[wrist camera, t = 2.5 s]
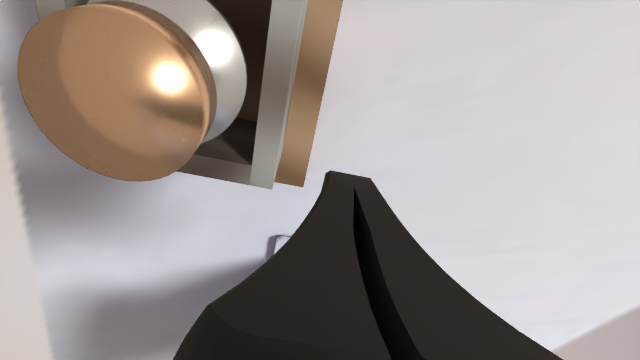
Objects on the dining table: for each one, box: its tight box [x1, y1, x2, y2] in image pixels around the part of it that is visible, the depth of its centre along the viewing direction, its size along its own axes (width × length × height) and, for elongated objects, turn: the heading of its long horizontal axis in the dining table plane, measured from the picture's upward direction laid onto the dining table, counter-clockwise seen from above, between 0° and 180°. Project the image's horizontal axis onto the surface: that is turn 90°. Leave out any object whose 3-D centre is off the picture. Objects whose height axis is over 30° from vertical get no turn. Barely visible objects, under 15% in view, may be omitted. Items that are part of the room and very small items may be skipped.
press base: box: [35, 0, 343, 189], centre depth 16 cm, size 14×12×6 cm
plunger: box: [18, 0, 248, 181], centre depth 12 cm, size 6×6×4 cm
